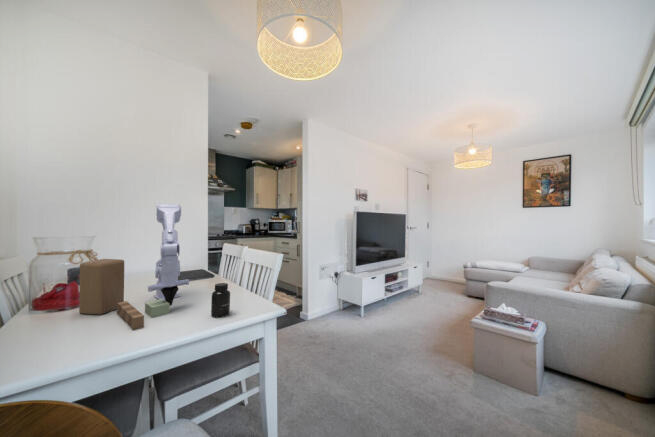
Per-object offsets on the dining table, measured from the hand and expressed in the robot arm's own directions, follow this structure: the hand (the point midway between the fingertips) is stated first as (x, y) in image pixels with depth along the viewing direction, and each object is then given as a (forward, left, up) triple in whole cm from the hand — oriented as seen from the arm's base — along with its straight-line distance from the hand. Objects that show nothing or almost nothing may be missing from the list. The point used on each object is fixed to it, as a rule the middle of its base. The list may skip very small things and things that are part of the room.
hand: (169, 305), depth 102 cm
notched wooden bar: (0, -13, -2) cm, 13 cm away
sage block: (0, -4, -2) cm, 5 cm away
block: (-19, -18, -2) cm, 26 cm away
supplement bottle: (+20, +11, -2) cm, 23 cm away
